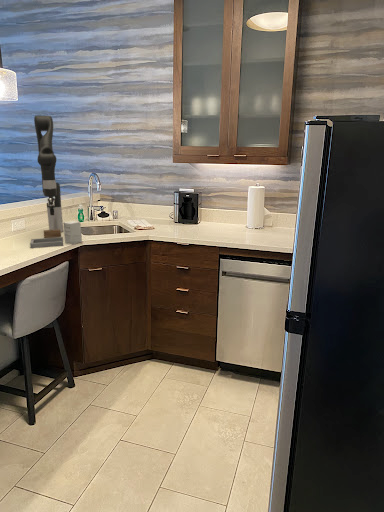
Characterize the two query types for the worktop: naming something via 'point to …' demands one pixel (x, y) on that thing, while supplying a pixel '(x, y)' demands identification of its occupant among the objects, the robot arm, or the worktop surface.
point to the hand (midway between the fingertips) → (52, 214)
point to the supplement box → (72, 232)
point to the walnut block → (52, 233)
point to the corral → (46, 242)
